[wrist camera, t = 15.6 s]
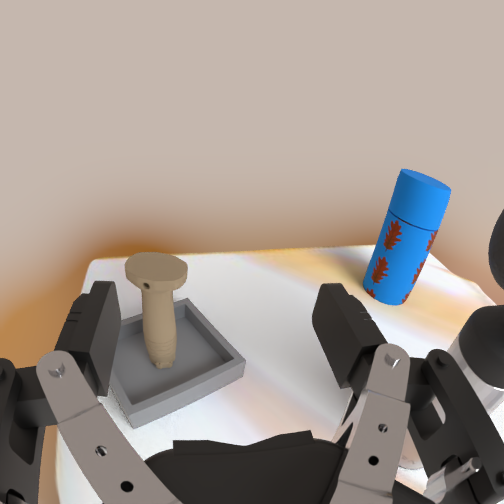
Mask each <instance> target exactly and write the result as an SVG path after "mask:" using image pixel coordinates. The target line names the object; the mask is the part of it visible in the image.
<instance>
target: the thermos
mask: <svg viewBox="0 0 504 504" xmlns="http://www.w3.org/2000/svg"><path fill="white" fill-rule="evenodd" d="M450 194H451V189H450V188H449V187H448V186H446V185H445V184H443V183H442V182H440V181H438V180H436V179H434V178H431V177H429V176H427V175H424V174H421V173H419V172H416V171H412V170H408V169H401V171H400V174H399V176H398V178H397V182H396V186H395V189H394V192H393V196H392V199H391V202H390V205H389V209H388V211H387V215H386V218H385V221H384V224H383V227H382V230H381V233H380V235H379V238H378V241H377V244H376V247H375V249H374V252H373V255H372V258H371V260H370V263H369V266H368V269H367V272H366V275H365V278H364V281H363V286H364V288H365V290H366V291H367V293H368V294H369V295H371V296H372V297H373V298H374V299H376V300H378V301H380V302H382V303H385V304H388V305H400V304H403V303H404V302H405V301H406V299H407V298H408V296H409V294H410V292H411V290H412V289H413V287H414V285H415V283H416V281H417V278H418V276H419V274H420V272H421V270H422V267H423V265H424V263H425V261H426V258H427V256H428V254H429V251H430V249H431V246H432V244H433V242H434V239H435V237H436V234H437V232H438V229H439V226H440V224H441V221H442V218H443V216H444V213H445V210H446V207H447V204H448V202H449V198H450Z"/></svg>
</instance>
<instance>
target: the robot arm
mask: <svg viewBox="0 0 504 504" xmlns="http://www.w3.org/2000/svg"><path fill="white" fill-rule="evenodd" d="M488 254H489V265H490V269H491V272H492V274H493V276H494V279H495V280H496V282H497V283H498V284H499V286H500V287H501V288H502V289H504V210H503V211H502V213H501V215H500V216H499V218H498V220H497V222H496V224H495V227H494V229H493V232H492V236H491V239H490V243H489V252H488ZM312 324H313V328H314V330H315V332H316V334H317V337H318V339H319V341H320V343H321V346H322V348H323V350H324V352H325V355H326V357H327V359H328V362H329V364H330V366H331V368H332V371H333V373H334V375H335V378H336V380H337V382H338V385H339V387H340V389H342V388H347V387H351V388H352V390H353V392H352V393H351V395H350V398H349V401H348V403H347V406H346V409H345V411H344V414H343V417H342V419H341V422H340V424H339V427H338V429H337V432H336V434H335V435H334V437H333V439H332V441H331V442H330V441H326V440H322V439H316V438H313V436H312V433H311V430H308V431H301V432H295V433H288V434H280V435H277V436H274V437H271V438H268V439H266V440H263V441H260V442H257V443H254V444H251V445H247V446H240V445H233V444H227V443H221V442H215V441H210V440H173V449H169V450H165V451H162V452H159V453H157V454H155V455H153V456H151V457H149V458H148V459H146V460H145V461H143V460H142V459H141V457H140V456H139V455H138V454H137V452H136V451H135V450H134V448H133V447H132V446H131V445H130V443H129V442H128V441H127V439H126V438H125V437H124V435H123V434H122V432H121V431H120V430H119V428H118V427H117V425H116V424H115V423H114V421H113V420H112V418H111V417H110V415H109V414H108V412H107V411H106V409H105V408H104V406H103V405H102V404H101V403H99V401H98V400H97V396H106V397H107V393H108V387H109V382H110V376H111V371H112V365H113V360H114V355H115V351H116V346H117V341H118V337H119V332H120V327H121V313H120V308H119V303H118V297H117V291H116V286H115V283H114V281H95V282H94V283H93V286H92V288H91V290H90V293H89V294H84V293H82V294H81V295H80V296H79V297H78V298H77V299H76V300H75V301H74V302H73V305H72V307H71V309H70V313H69V314H68V316H67V319H66V322H65V323H64V326H63V329H62V331H61V333H60V336H59V339H58V341H57V344H56V346H55V349H54V351H52V352H49V353H47V354H45V355H44V356H43V357H42V358H41V359H40V360H39V362H38V364H37V366H33V367H25V368H19V369H16V368H15V367H14V365H13V363H12V362H11V361H10V360H7V359H4V358H0V504H38V489H39V475H40V464H41V456H42V448H43V440H44V433H45V427H46V426H50V425H57V426H58V429H59V431H60V433H61V435H62V437H63V439H64V441H65V443H66V444H67V446H68V448H69V450H70V452H71V453H72V455H73V457H74V459H75V460H76V462H77V464H78V465H79V467H80V469H81V470H82V472H83V473H84V475H85V477H86V478H87V480H88V481H89V483H90V484H91V486H92V487H93V489H94V490H95V492H96V493H97V495H98V496H99V497H100V499H101V500H102V502H103V503H102V504H496V503H498V502H500V501H502V500H503V499H504V443H503V441H502V439H501V437H500V435H499V433H498V431H497V429H496V428H495V426H494V424H493V422H492V420H491V418H490V417H489V415H490V414H491V413H492V412H493V411H494V410H495V409H496V408H497V407H498V406H499V405H500V404H501V403H502V402H503V401H504V305H497V306H485V307H482V308H479V309H477V310H476V311H475V312H473V313H472V315H471V316H470V317H469V319H468V320H467V322H466V323H465V325H464V326H463V328H462V330H461V331H460V333H459V334H458V336H457V337H456V339H455V340H454V342H453V343H452V345H451V346H450V348H449V349H448V350H447V352H446V351H444V350H441V349H434V350H431V351H430V352H429V354H428V355H427V357H426V358H425V359H423V358H413V357H409V355H408V354H407V353H406V351H405V350H404V349H402V348H401V347H399V346H397V345H394V344H388V343H387V341H386V339H385V338H384V336H383V335H382V333H381V332H380V330H379V328H378V327H377V325H376V324H375V322H374V321H373V320H372V318H371V316H370V315H369V313H367V310H366V309H365V307H364V306H363V304H362V303H361V302H360V301H359V300H358V299H357V298H355V297H354V296H353V295H349V294H348V293H347V291H346V290H345V288H344V287H343V285H342V284H341V283H327V284H322V285H321V287H320V290H319V293H318V297H317V300H316V303H315V307H314V310H313V314H312ZM398 465H399V466H401V467H404V468H406V469H413V470H414V469H421V468H423V467H424V470H425V472H426V475H427V477H428V481H427V486H426V490H425V491H424V493H423V495H421V494H419V493H418V492H416V491H414V490H412V489H410V488H409V487H407V486H405V485H403V484H402V483H400V482H398V481H396V480H395V477H396V473H397V469H398Z"/></svg>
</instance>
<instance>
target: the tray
mask: <svg viewBox="0 0 504 504" xmlns="http://www.w3.org/2000/svg"><path fill="white" fill-rule="evenodd" d="M173 305H174V314H175V323H176V332H177V344H176V352H175V355H176V356H175V360H174V361H173V364H172V367H170V368H162V369H158V368H156V365H155V364H154V363H152V362H151V361H150V358H149V353H148V351H147V347H146V344H145V339H144V332H143V313H142V314H139V315H136V316H133V317H130V318H128V319H125V320H122V321H121V327H120V332H119V337H118V341H117V346H116V351H115V355H114V360H113V365H112V371H111V376H110V382H109V385H110V387H111V389H112V391H113V393H114V395H115V397H116V399H117V400H118V402H119V404H120V406H121V408H122V410H123V412H124V413H125V415H126V417H127V419H128V420H129V422H130V424H131V426H132V427H133V429H136V428H138V427H140V426H143V425H145V424H147V423H150V422H152V421H154V420H156V419H159V418H161V417H163V416H165V415H167V414H170V413H172V412H174V411H176V410H178V409H180V408H182V407H184V406H186V405H189V404H191V403H193V402H195V401H197V400H199V399H201V398H203V397H205V396H207V395H209V394H211V393H213V392H214V391H216V390H218V389H220V388H222V387H224V386H226V385H228V384H230V383H232V382H233V381H235V380H237V379H239V378H241V377H243V372H244V368H245V363H246V360H245V359H244V358H243V357H242V356H241V355H240V354H239V353H238V352H237V351H236V350H235V349H234V348H233V347H232V346H231V344H230V343H229V342H228V341H227V340H226V339H225V338H224V337H223V336H222V335H221V334H220V333H219V332H218V331H217V330H216V329H215V328H214V326H213V325H212V324H211V323H210V322H209V321H208V320H207V319H206V318H205V317H204V316H203V314H202V313H201V312H200V311H199V310H198V309H197V308H196V307H195V306H194V304H193V303H192V302H191V301H190V300H189V299H188V298H186V299H183V300H180V301H177V302H174V303H173Z"/></svg>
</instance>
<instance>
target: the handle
mask: <svg viewBox="0 0 504 504" xmlns="http://www.w3.org/2000/svg"><path fill="white" fill-rule="evenodd" d="M187 269H188V267H187V264H186V262H184V261H182V260H181V259H179V258H177V257H175V256H172V255H168V254H163V253H158V252H140V253H137V254H134V255H133V256H131V257H130V258H129V259H128V260H127V261H126V263H125V273H126V278H127V279H128V280H129V281H130V282H131V283H133V284H134V285H135V286H137V287H138V288H140V289H141V292H142V310H143V332H144V339H145V344H146V347H147V351H148V353H149V358H150V361H151V362H152V363H154V364H155V365H156V368H158V369H162V368H170V367H172V364H173V361H174V360H175V356H176V355H175V352H176V344H177V332H176V323H175V314H174V305H173V290H176V289H178V288H180V287H181V286H182V285H183V284H184V283H185V281H186V279H187Z"/></svg>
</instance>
